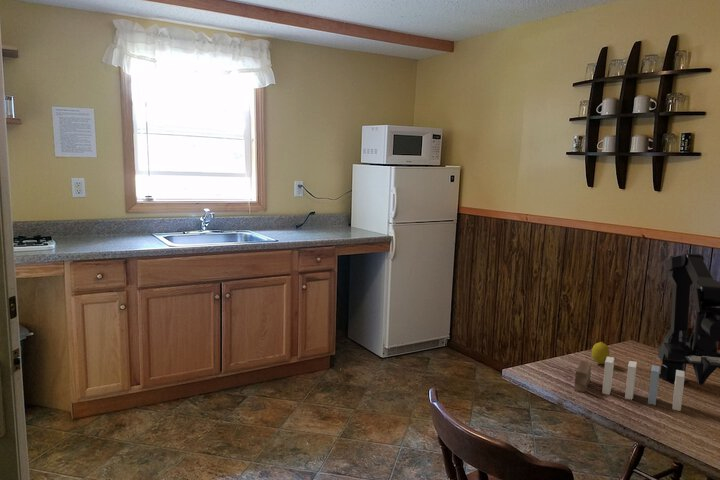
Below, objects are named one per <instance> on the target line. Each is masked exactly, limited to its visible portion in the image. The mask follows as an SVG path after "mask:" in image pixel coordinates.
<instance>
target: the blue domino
mask: <svg viewBox="0 0 720 480" xmlns="http://www.w3.org/2000/svg"><path fill="white" fill-rule="evenodd" d="M660 369H661V365H660V366H659V365H655V364H652V365H651V370H650V378H649V380H650V381H649V388H648V399H647V404H648V405H652V404H653V406H656V405H657V396H658V388H659V387H658V385H659V379H660V377H659V374H660Z"/></svg>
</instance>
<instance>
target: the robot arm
mask: <svg viewBox="0 0 720 480" xmlns="http://www.w3.org/2000/svg"><path fill="white" fill-rule="evenodd" d="M665 267H666V271H667V276H668V278H669V280H670V281H671V284H672V286H673V287H672V301H671V321H670V330H668V332H667V333H666V335H665V336H664V337H663V342H662V344H661V345H660V346H659V348H658V350H657V351H658V352H657V354H658V355H657V356H658V358H659V360H660V361H661V365H660V371H659V378H661V379H663V380H665V381H666V382H669V383H671V384H675V377H676V370H681V371H685V372H686V371H687V370H686V369H687V365H690V366H691V365H692V368H693V370H694V374H695V375H694V376H695V377H696V378H695V379H696V381H697V384H698V385H701V386H703V385H704V384H705V382H706V381H707V379H709V377H710V376H711V375H712V374H713V373H714V372H715V371H716V369H718V368H720V352H718V347H719V346H718V345H719V343H720V281H718V280H716V279H714V277H713V276H712V274H711V272H710V270H709V269H708V266H707V264H706V263H705V259H704V255H703V254H701V253H689V252H686V253H683V254H681V255H676V256H672V257H670V258H669V259H668V260H667V261H666V266H665ZM692 285H694V288H693V291H692V299H693V304H694V306H695V307H694V308H695V309H696V312H695V320H694V327H693V329H692V331H691V334H690V333H689V319H690V318H689V313H690V300H691V299H690V297H691V286H692ZM689 381H690V380H689V379H688V378H686V377H685V378H684V383H688V382H689Z"/></svg>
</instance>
